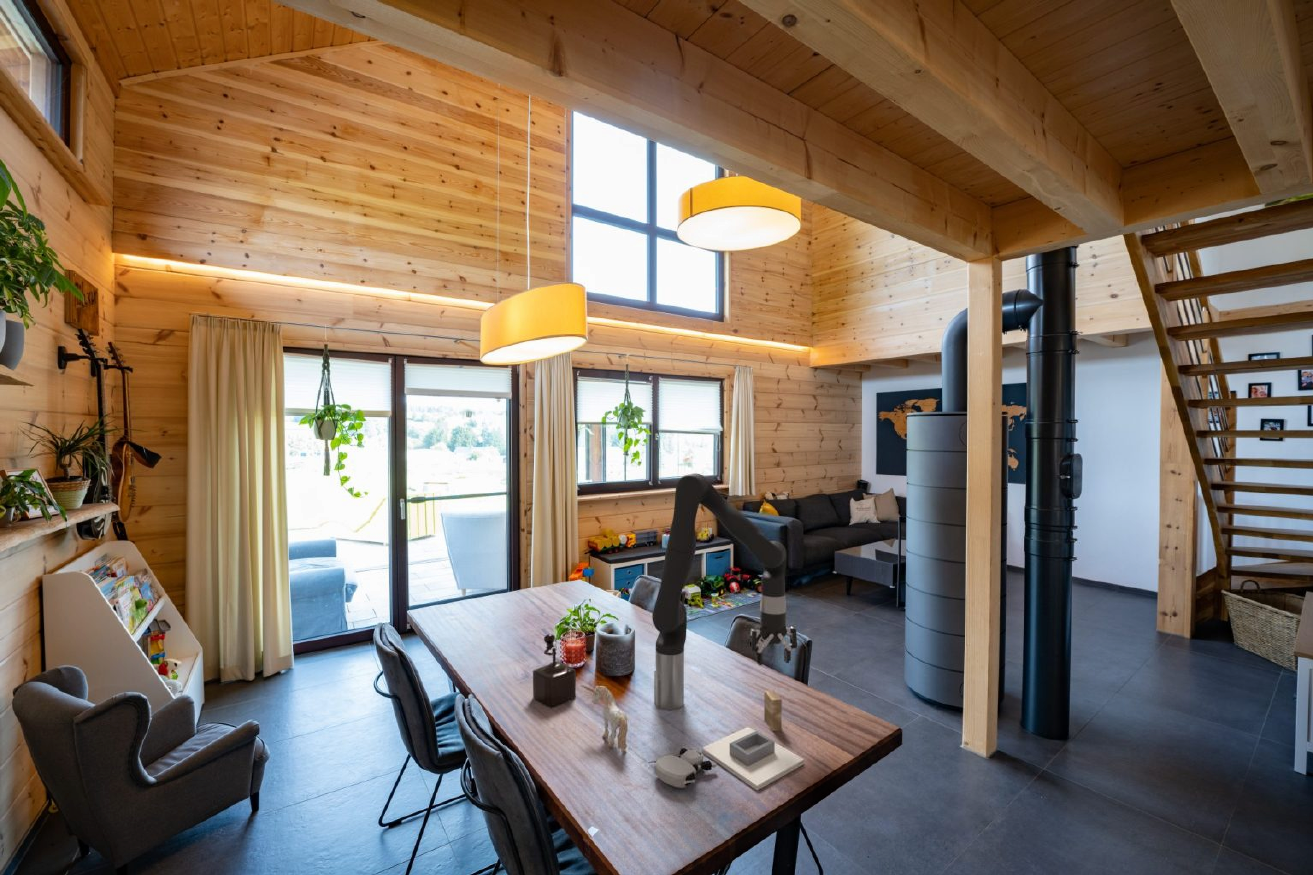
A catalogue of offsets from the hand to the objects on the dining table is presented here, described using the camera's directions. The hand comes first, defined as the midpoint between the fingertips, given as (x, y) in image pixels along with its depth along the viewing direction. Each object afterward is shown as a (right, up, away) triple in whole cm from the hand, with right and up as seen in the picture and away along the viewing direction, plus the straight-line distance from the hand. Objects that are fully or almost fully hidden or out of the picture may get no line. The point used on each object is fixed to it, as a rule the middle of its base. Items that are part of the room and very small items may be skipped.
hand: (773, 663), depth 162 cm
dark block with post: (-70, -19, +18) cm, 75 cm away
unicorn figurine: (-50, -19, -10) cm, 54 cm away
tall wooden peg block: (0, -19, 0) cm, 19 cm away
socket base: (-9, -18, -17) cm, 27 cm away
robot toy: (-28, -19, -24) cm, 42 cm away
